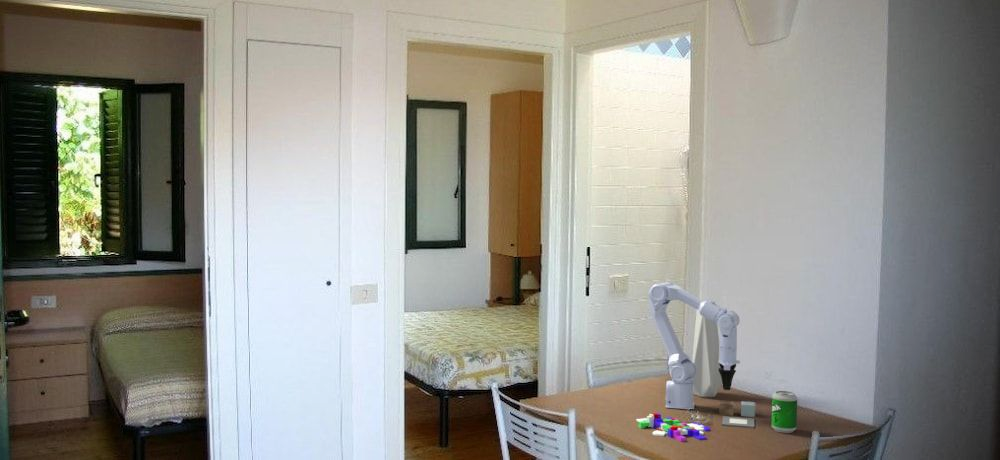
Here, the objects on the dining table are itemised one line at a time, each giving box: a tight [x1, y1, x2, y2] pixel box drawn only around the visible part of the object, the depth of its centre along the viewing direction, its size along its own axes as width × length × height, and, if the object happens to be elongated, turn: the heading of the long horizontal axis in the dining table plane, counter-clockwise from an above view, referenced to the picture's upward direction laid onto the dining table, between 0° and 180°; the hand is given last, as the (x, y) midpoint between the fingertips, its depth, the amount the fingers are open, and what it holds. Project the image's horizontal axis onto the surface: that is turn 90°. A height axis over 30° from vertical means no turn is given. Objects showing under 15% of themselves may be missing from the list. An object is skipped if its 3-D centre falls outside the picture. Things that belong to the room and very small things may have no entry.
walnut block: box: [719, 400, 734, 417], centre depth 290 cm, size 4×4×4 cm
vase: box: [691, 309, 723, 398], centre depth 315 cm, size 12×12×33 cm
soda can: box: [771, 390, 798, 434], centre depth 270 cm, size 8×8×12 cm
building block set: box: [636, 412, 711, 443], centre depth 271 cm, size 25×20×4 cm
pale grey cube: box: [740, 401, 756, 418], centre depth 289 cm, size 4×4×4 cm
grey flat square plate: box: [721, 415, 755, 429], centre depth 279 cm, size 10×10×1 cm
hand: (727, 387), depth 289 cm, fingers open, 7 cm apart
